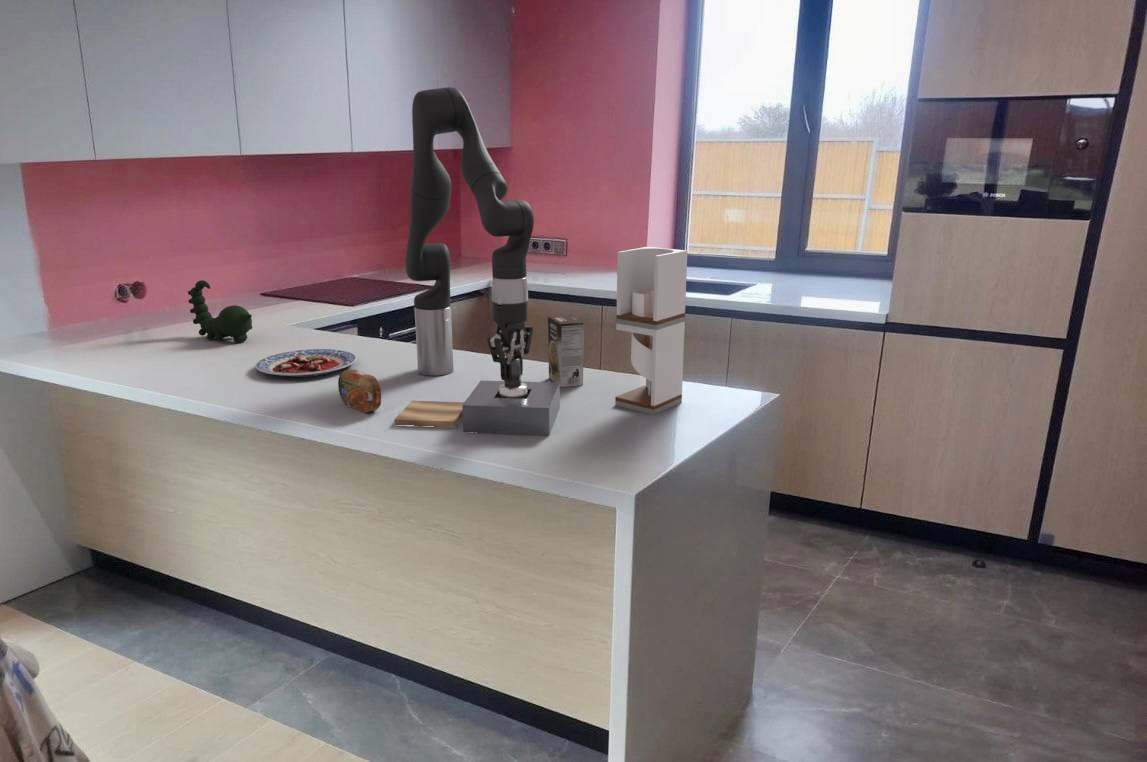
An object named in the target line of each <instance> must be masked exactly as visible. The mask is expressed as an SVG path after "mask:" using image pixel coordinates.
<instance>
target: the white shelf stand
mask: <svg viewBox="0 0 1147 762" xmlns="http://www.w3.org/2000/svg"><path fill="white" fill-rule="evenodd" d="M616 260H617V261H616V262H617V263H616V264H617V265H616V325H615V328H616V330H618V331H623V332H627V333H631V343H630V344H631V345H630V346H631V351H630V355H631V357H630V362H631V366H632V367H633V369H634V370H635V371H636V372H637V373H638V374H639V375H641V376H642V377H644V378H645V385H642V386H639V387H638V388H634V389H632V390H629V391H627V392H624V393H622V394H619V395H616V396H615V397H614V398H615V399H614V402H615V403H614V404H615V405H614V406H616V407H619V408H620V407H621V408H625V409H629V410H632V411H637V412H640V413H644V414H649V415H653V416H656V415H657V414H659V413H662V412H663V411H666V410H668V409H670V408H672V407H674V406H677V405H679V404H681V403H682V402H683V401H682V399H683V381H684V379H683V377H684V375H683V374H684V373H683V372H684V353H685V352H684V351H685V349H684V347H685V325H686V321H685V320H686V319H685V318H686V301H687V300H686V299H687V297H686V296H687V273H688V269H687V268H688V250H687V249H686V250H685V249H675V248H666V247H665V248H664V247H663V248H661V247H654V246H644V247H640V248H639V247H637V248H633V249H627V250H621V251H617V258H616Z"/></svg>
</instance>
